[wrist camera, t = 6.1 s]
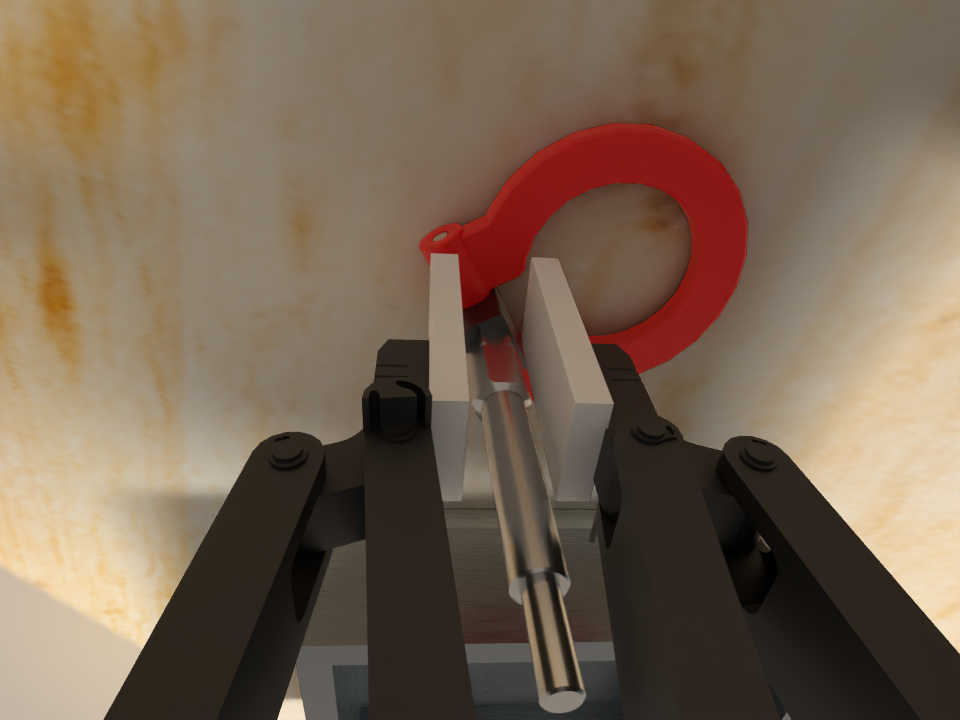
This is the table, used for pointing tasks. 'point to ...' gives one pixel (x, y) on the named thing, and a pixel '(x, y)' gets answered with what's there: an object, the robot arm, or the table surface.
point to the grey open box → (470, 627)
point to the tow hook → (500, 357)
